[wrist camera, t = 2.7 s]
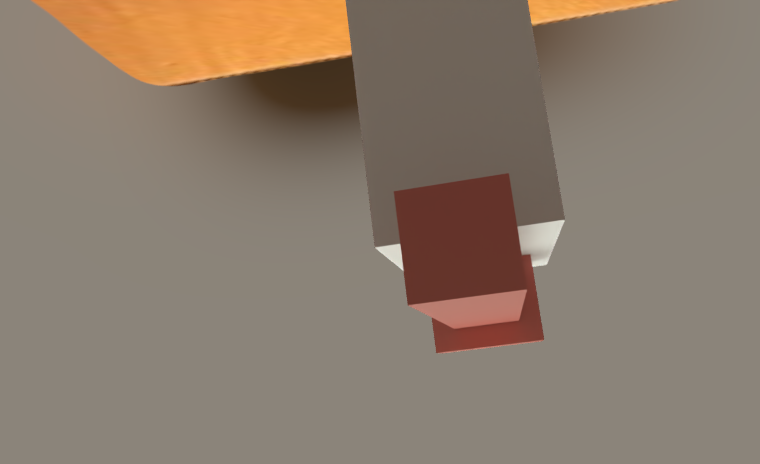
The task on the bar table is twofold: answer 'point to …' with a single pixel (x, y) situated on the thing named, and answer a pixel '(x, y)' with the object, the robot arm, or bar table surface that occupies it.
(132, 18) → the bar table surface
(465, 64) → the pedestal
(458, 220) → the red stepped block
